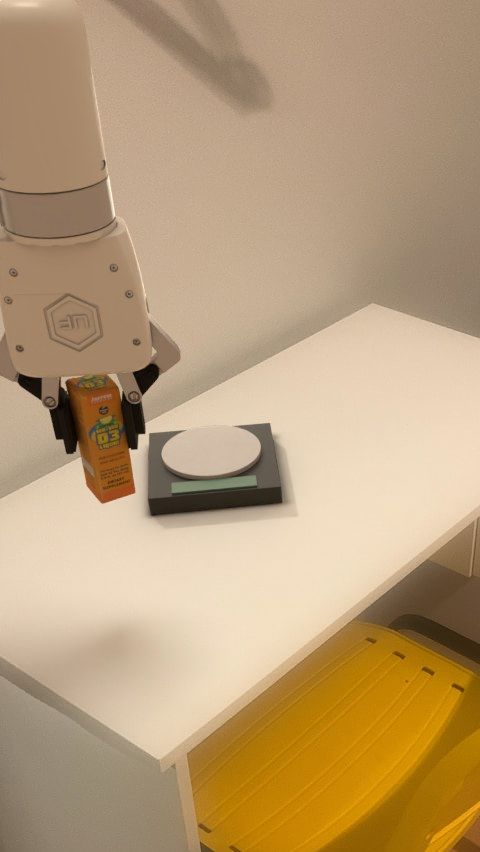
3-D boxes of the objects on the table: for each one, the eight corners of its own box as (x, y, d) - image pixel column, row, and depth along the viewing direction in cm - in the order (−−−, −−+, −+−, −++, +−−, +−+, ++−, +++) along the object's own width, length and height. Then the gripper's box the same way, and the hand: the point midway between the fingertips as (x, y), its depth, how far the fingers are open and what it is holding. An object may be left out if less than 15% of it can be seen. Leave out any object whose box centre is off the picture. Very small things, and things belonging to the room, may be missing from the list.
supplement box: (101, 507, 79) (77, 395, 72) (86, 488, 81) (61, 377, 74) (139, 494, 80) (119, 384, 73) (123, 476, 82) (102, 367, 76)
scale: (150, 515, 102) (146, 494, 100) (151, 448, 112) (148, 428, 110) (282, 502, 103) (280, 481, 101) (271, 437, 114) (269, 417, 112)
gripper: (-83, 230, 62) (-11, 475, 74) (181, 219, 63) (209, 460, 76) (-61, 193, 67) (2, 427, 79) (181, 184, 69) (207, 414, 81)
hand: (103, 441), depth 77 cm, fingers closed on supplement box, 4 cm apart
